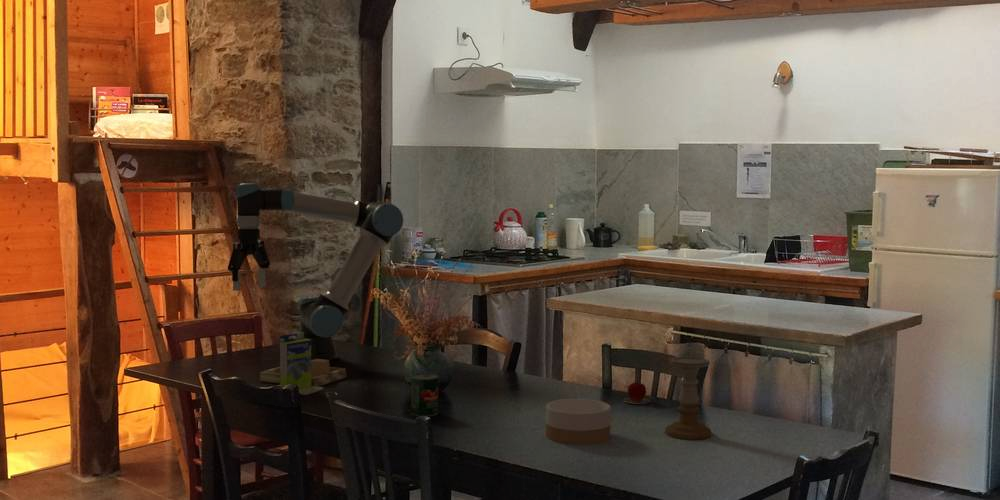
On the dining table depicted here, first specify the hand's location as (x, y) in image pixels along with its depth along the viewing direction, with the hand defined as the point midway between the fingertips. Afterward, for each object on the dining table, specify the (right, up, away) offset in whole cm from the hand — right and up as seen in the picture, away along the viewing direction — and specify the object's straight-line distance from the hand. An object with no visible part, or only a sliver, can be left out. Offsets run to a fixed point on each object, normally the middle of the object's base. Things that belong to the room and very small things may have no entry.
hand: (249, 288), depth 359 cm
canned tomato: (+66, -34, -60) cm, 95 cm away
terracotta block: (+27, -30, -16) cm, 44 cm away
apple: (+129, -33, -45) cm, 141 cm away
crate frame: (+21, -30, -13) cm, 39 cm away
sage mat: (+22, -31, -29) cm, 48 cm away
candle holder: (+138, -36, -82) cm, 165 cm away
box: (+22, -31, -29) cm, 48 cm away
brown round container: (+108, -37, -84) cm, 142 cm away
